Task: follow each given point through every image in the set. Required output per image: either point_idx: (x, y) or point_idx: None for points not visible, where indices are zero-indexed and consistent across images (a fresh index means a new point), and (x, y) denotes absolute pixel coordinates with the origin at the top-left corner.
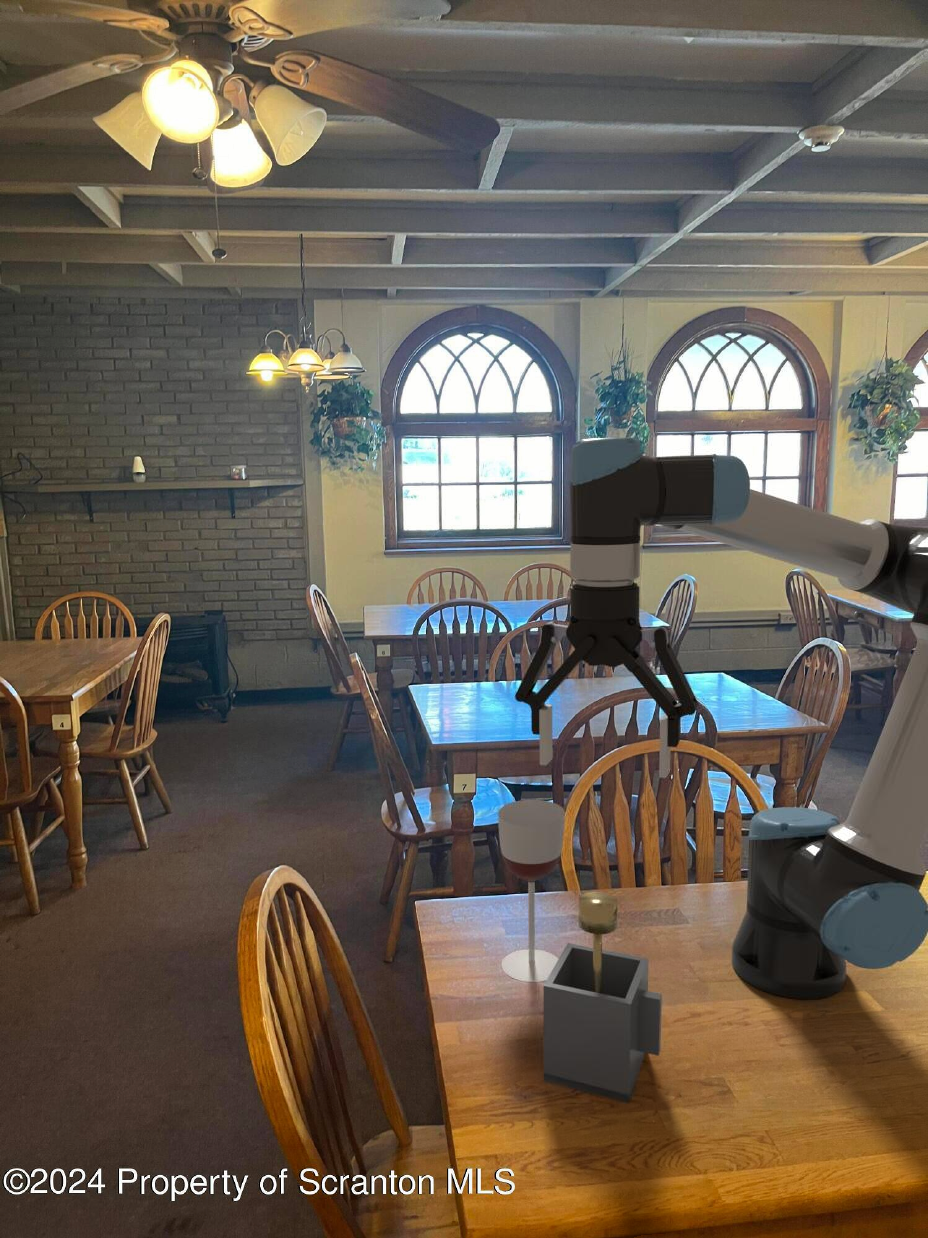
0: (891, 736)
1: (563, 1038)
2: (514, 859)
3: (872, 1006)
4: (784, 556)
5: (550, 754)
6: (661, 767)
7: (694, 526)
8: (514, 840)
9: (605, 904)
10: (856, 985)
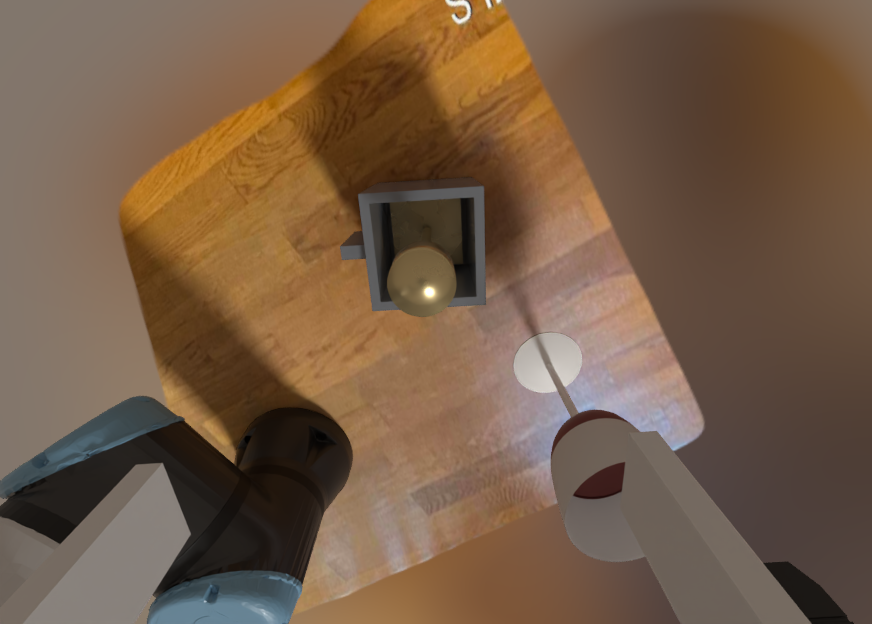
0: None
1: (451, 182)
2: (617, 420)
3: (212, 425)
4: None
5: (634, 507)
6: (125, 496)
7: None
8: None
9: (404, 275)
10: (233, 451)
